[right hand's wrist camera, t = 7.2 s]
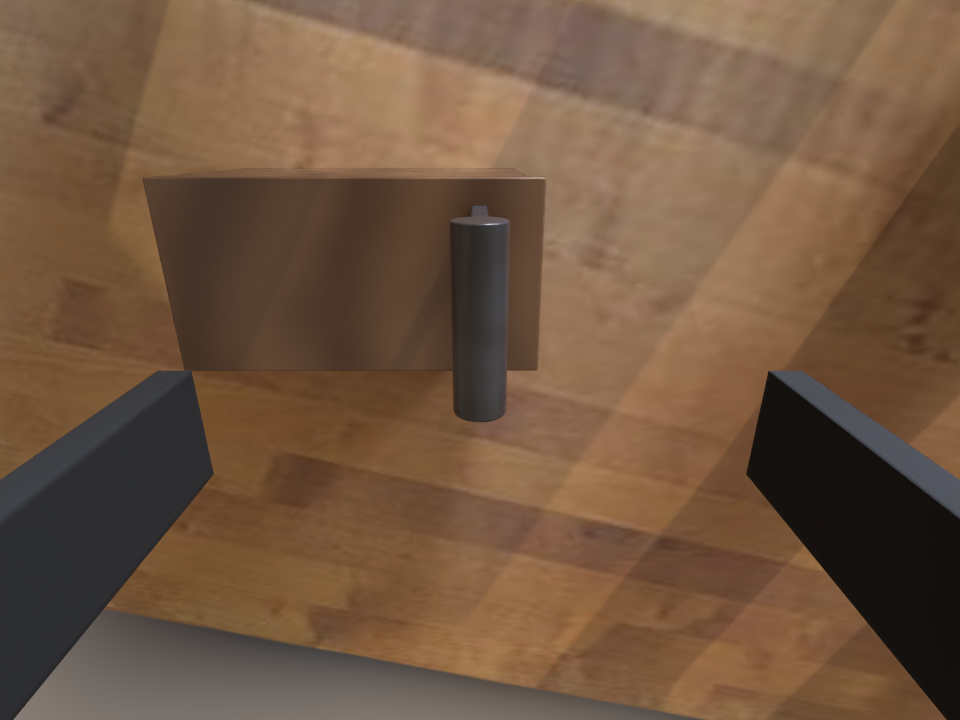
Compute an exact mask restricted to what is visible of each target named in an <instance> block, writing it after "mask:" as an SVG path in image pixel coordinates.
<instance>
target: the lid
mask: <svg viewBox="0 0 960 720" xmlns="http://www.w3.org/2000/svg"><path fill="white" fill-rule="evenodd" d="M143 183H144V188H145V192H146V197H147V201H148V206H149V210H150V215H151V219H152V224H153V228H154V233H155V238H156V242H157V247H158V251H159V256H160V260H161V265H162V269H163V274H164V278H165V283H166V287H167V292H168V296H169V301H170V305H171V310H172V314H173V319H174V324H175V328H176V333H177V337H178V342H179V346H180V351H181V355H182V360H183V364H184V369H185V370H186V371H293V370H453V407H454V413H455V414H456V415H457V416H458V417H459V418H461V419H463V420H467V421H471V422H488V421H493V420H496V419H498V418H500V417H502V416H503V415H504V414H505V412H506V386H507V370H538V354H539V331H540V308H541V285H542V262H543V238H544V215H545V192H546V178H544V177H145V178H143Z"/></svg>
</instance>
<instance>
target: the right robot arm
mask: <svg viewBox="0 0 960 720" xmlns="http://www.w3.org/2000/svg"><path fill="white" fill-rule="evenodd" d="M212 476H213V469H212V464H211V460H210V455H209V450H208V446H207V441H206V437H205V432H204V427H203V423H202V418H201V413H200V409H199V404H198V399H197V395H196V390H195V386H194V381H193V376H192V372H191V371H157V372H155V373H154V374H153V375H151V376H150V377H148V378H147V379H145V380H144V381H142V382H141V383H140V384H138V385H137V386H135V387H134V388H132V389H131V390H129V391H128V392H127V393H125V394H124V395H122V396H121V397H119V398H118V399H116V400H115V401H114V402H112V403H111V404H109V405H108V406H106V407H105V408H103V409H102V410H101V411H99V412H98V413H96V414H95V415H93V416H92V417H90V418H89V419H88V420H86V421H85V422H83V423H82V424H80V425H79V426H77V427H76V428H75V429H73V430H72V431H70V432H69V433H67V434H66V435H65V436H63V437H62V438H60V439H59V440H57V441H56V442H54V443H53V444H52V445H50V446H49V447H47V448H46V449H44V450H43V451H41V452H40V453H39V454H37V455H36V456H34V457H33V458H31V459H30V460H28V461H27V462H26V463H24V464H23V465H21V466H20V467H18V468H17V469H15V470H14V471H13V472H11V473H10V474H8V475H7V476H5V477H4V478H2V479H1V480H0V720H13V719H14V718H15V717H16V716H17V714H18V713H19V712H20V711H21V710H22V708H23V707H24V706H25V705H26V703H27V702H28V701H29V700H30V699H31V697H32V696H33V695H34V694H35V692H36V691H37V690H38V689H39V687H40V686H41V685H42V684H43V683H44V681H45V680H46V679H47V678H48V677H49V675H50V674H51V673H52V672H53V670H54V669H55V668H56V667H57V665H58V664H59V663H60V662H61V661H62V659H63V658H64V657H65V656H66V654H67V653H68V652H69V651H70V650H71V648H72V647H73V646H74V645H75V643H76V642H77V641H78V640H79V638H80V637H81V636H82V635H83V634H84V632H85V631H86V630H87V629H88V627H89V626H90V625H91V624H92V622H93V621H94V620H95V619H96V618H97V616H98V615H99V614H100V613H101V612H102V610H103V609H104V608H105V607H106V605H107V604H108V603H109V602H110V601H111V599H112V598H113V597H114V596H115V594H116V593H117V592H118V591H119V589H120V588H121V587H122V586H123V585H124V583H125V582H126V581H127V580H128V578H129V577H130V576H131V575H132V574H133V572H134V571H135V570H136V569H137V567H138V566H139V565H140V564H141V563H142V561H143V560H144V559H145V558H146V556H147V555H148V554H149V553H150V552H151V550H152V549H153V548H154V547H155V545H156V544H157V543H158V542H159V540H160V539H161V538H162V537H163V536H164V534H165V533H166V532H167V531H168V529H169V528H170V527H171V526H172V525H173V523H174V522H175V521H176V520H177V518H178V517H179V516H180V515H181V514H182V512H183V511H184V510H185V509H186V507H187V506H188V505H189V504H190V502H191V501H192V500H193V499H194V498H195V496H196V495H197V494H198V493H199V491H200V490H201V489H202V488H203V487H204V485H205V484H206V483H207V482H208V480H209V479H210V478H211V477H212ZM747 476H748V477H749V478H750V479H751V480H752V482H753V483H754V484H755V485H756V487H757V488H758V489H759V490H760V491H761V493H762V494H763V495H764V496H765V498H766V499H767V500H768V501H769V502H770V504H771V505H772V506H773V507H774V509H775V510H776V511H777V512H778V514H779V515H780V516H781V517H782V518H783V520H784V521H785V522H786V523H787V525H788V526H789V527H790V528H791V529H792V531H793V532H794V533H795V534H796V536H797V537H798V538H799V539H800V540H801V542H802V543H803V544H804V545H805V547H806V548H807V549H808V550H809V552H810V553H811V554H812V555H813V556H814V558H815V559H816V560H817V561H818V563H819V564H820V565H821V566H822V567H823V569H824V570H825V571H826V572H827V574H828V575H829V576H830V577H831V578H832V580H833V581H834V582H835V583H836V585H837V586H838V587H839V588H840V589H841V591H842V592H843V593H844V594H845V596H846V597H847V598H848V599H849V601H850V602H851V603H852V604H853V605H854V607H855V608H856V609H857V610H858V612H859V613H860V614H861V615H862V616H863V618H864V619H865V620H866V621H867V623H868V624H869V625H870V626H871V627H872V629H873V630H874V631H875V632H876V634H877V635H878V636H879V637H880V639H881V640H882V641H883V642H884V643H885V645H886V646H887V647H888V648H889V650H890V651H891V652H892V653H893V654H894V656H895V657H896V658H897V659H898V661H899V662H900V663H901V664H902V665H903V667H904V668H905V669H906V670H907V672H908V673H909V674H910V675H911V677H912V678H913V679H914V680H915V681H916V683H917V684H918V685H919V686H920V688H921V689H922V690H923V691H924V692H925V694H926V695H927V696H928V697H929V699H930V700H931V701H932V702H933V703H934V705H935V706H936V707H937V708H938V710H939V711H940V712H941V713H942V714H943V716H944V717H945V718H946V719H947V720H960V480H959V479H958V478H956V477H955V476H953V475H952V474H950V473H949V472H947V471H946V470H945V469H943V468H942V467H940V466H939V465H937V464H936V463H934V462H933V461H932V460H930V459H929V458H927V457H926V456H924V455H923V454H921V453H920V452H919V451H917V450H916V449H914V448H913V447H911V446H910V445H908V444H907V443H906V442H904V441H903V440H901V439H900V438H898V437H897V436H895V435H894V434H893V433H891V432H890V431H888V430H887V429H885V428H884V427H883V426H881V425H880V424H878V423H877V422H875V421H874V420H872V419H871V418H870V417H868V416H867V415H865V414H864V413H862V412H861V411H859V410H858V409H857V408H855V407H854V406H852V405H851V404H849V403H848V402H846V401H845V400H844V399H842V398H841V397H839V396H838V395H836V394H835V393H833V392H832V391H831V390H829V389H828V388H826V387H825V386H823V385H822V384H820V383H819V382H818V381H816V380H815V379H813V378H812V377H810V376H809V375H807V374H806V373H805V372H803V371H769V372H768V376H767V381H766V386H765V390H764V395H763V399H762V404H761V409H760V413H759V418H758V423H757V427H756V432H755V437H754V441H753V446H752V450H751V455H750V460H749V464H748V469H747Z"/></svg>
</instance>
